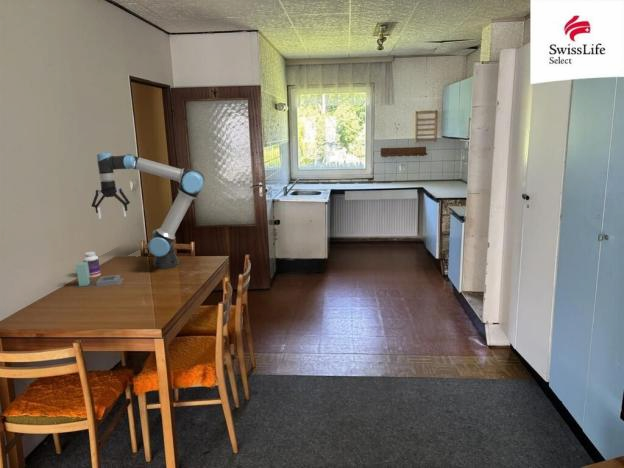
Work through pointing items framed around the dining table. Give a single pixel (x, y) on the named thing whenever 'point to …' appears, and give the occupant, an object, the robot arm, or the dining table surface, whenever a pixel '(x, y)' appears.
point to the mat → (85, 285)
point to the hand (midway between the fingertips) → (112, 217)
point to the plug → (82, 274)
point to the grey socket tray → (108, 281)
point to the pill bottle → (92, 264)
